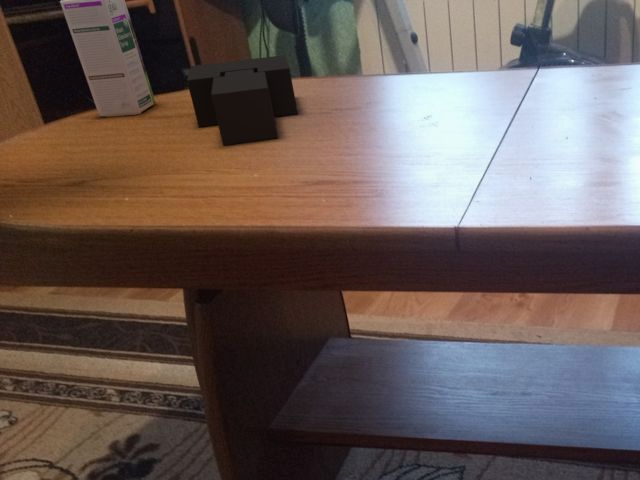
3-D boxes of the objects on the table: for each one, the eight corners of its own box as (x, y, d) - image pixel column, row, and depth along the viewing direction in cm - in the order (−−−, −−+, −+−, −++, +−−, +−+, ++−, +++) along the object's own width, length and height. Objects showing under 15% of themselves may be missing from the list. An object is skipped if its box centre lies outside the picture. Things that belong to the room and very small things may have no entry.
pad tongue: (223, 145, 81) (210, 94, 78) (224, 119, 92) (213, 73, 89) (278, 138, 82) (267, 87, 79) (273, 113, 93) (264, 67, 90)
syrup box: (140, 114, 97) (104, -7, 89) (97, 117, 97) (57, -3, 90) (156, 104, 102) (124, -11, 94) (115, 107, 102) (79, -8, 95)
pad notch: (198, 127, 89) (186, 80, 86) (202, 109, 97) (191, 65, 94) (298, 114, 91) (289, 67, 88) (292, 97, 100) (284, 54, 97)
